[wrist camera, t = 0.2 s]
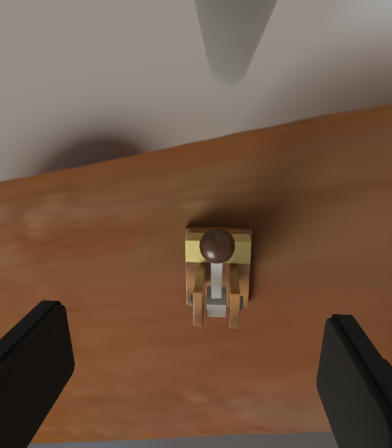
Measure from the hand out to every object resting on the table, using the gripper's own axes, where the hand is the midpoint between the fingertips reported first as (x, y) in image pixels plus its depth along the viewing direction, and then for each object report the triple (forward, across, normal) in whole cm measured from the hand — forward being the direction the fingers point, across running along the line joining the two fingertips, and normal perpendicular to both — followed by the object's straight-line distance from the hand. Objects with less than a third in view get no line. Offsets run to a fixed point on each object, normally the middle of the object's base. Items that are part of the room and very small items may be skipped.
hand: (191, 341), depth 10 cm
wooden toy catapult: (+29, -1, +11) cm, 31 cm away
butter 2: (+28, -3, +7) cm, 29 cm away
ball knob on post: (+19, -1, +6) cm, 20 cm away
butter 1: (+28, +2, +7) cm, 29 cm away
